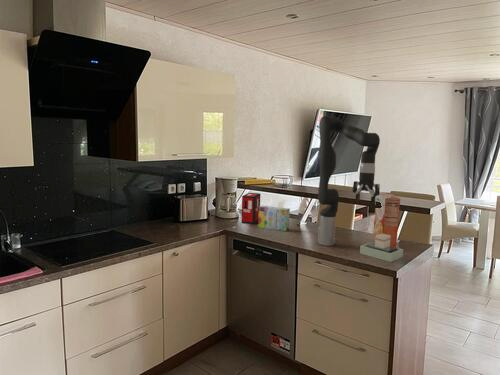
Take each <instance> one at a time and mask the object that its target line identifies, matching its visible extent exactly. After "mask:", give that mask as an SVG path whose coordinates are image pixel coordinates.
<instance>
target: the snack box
mask: <svg viewBox="0 0 500 375" xmlns="http://www.w3.org/2000/svg"><path fill="white" fill-rule="evenodd" d="M290 212H291V209H290V208H287V207H282V206H281V207H278V206H270V205H263V204H262V205H260V206H259V220H258V221H257V222H258V225H257V227H258V228H261V229H268V230H276V231H281V232H287V231H290V230H289V229H290V214H291V213H290Z"/></svg>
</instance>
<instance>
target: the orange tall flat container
mask: <svg viewBox="0 0 500 375" xmlns="http://www.w3.org/2000/svg"><path fill="white" fill-rule="evenodd" d="M376 199H377V200H378V201H379V202H380V203H381V206H382V207H381V208H375V207H374V208H375V209H374V221H373V232H372V235H373V236H372V239H373V240H374V241H375V237H376V235H379V234H387V235H391V240H390V246H394V247H397V242H398V231H399V230H398V229H399V217H400V216H399V215H400V207H401V206H400V205H401V198H400V197H398V196H396V195H395V194H393V193H391V192H384V191H382V192H381V191H380V192H379V195H378V196H376V197H375V200H376Z"/></svg>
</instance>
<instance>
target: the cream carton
mask: <svg viewBox="0 0 500 375" xmlns="http://www.w3.org/2000/svg"><path fill="white" fill-rule="evenodd" d="M390 240H391V235H387V234H379V235H376V237H375V240H374V242H375V247H379V248H383V249H384V248H386V247H389V246H390Z"/></svg>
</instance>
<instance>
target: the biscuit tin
mask: <svg viewBox="0 0 500 375" xmlns="http://www.w3.org/2000/svg"><path fill="white" fill-rule="evenodd" d="M368 247H369V248H373V249H377V250H380V251H384V252H388V253H392V252H395V251H397V248H398V247H397V246H396V247H394V246H389V247H386V248H384V249H383V248H379V247H375V243H373V244H370V245H368Z"/></svg>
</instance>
